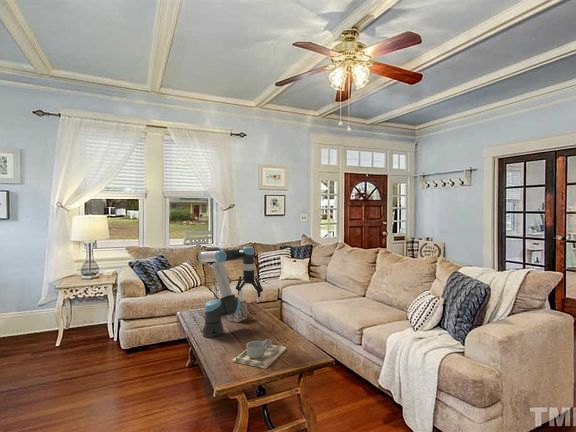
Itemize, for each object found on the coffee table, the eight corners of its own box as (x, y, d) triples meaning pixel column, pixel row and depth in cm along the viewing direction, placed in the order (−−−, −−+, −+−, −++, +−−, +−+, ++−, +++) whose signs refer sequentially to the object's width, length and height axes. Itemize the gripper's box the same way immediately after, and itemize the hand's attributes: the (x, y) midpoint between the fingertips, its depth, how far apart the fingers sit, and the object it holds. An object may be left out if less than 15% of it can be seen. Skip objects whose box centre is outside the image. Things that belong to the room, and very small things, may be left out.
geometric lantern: (211, 313, 285) (211, 272, 285) (229, 311, 291) (229, 271, 291) (214, 318, 271) (214, 275, 271) (233, 316, 277) (233, 274, 277)
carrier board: (232, 361, 193) (232, 353, 193) (255, 343, 218) (255, 335, 218) (265, 368, 184) (265, 359, 184) (286, 349, 210) (286, 340, 209)
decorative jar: (247, 318, 269) (247, 296, 269) (238, 322, 259) (237, 300, 259) (236, 316, 276) (236, 294, 275) (226, 320, 266) (226, 298, 265)
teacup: (250, 362, 189) (250, 348, 189) (244, 355, 199) (243, 341, 199) (272, 357, 195) (272, 344, 195) (265, 350, 205) (265, 337, 205)
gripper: (230, 269, 225) (230, 300, 226) (262, 271, 215) (262, 304, 216) (236, 267, 232) (236, 297, 233) (267, 269, 222) (268, 301, 223)
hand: (249, 300), depth 224 cm, fingers open, 13 cm apart
